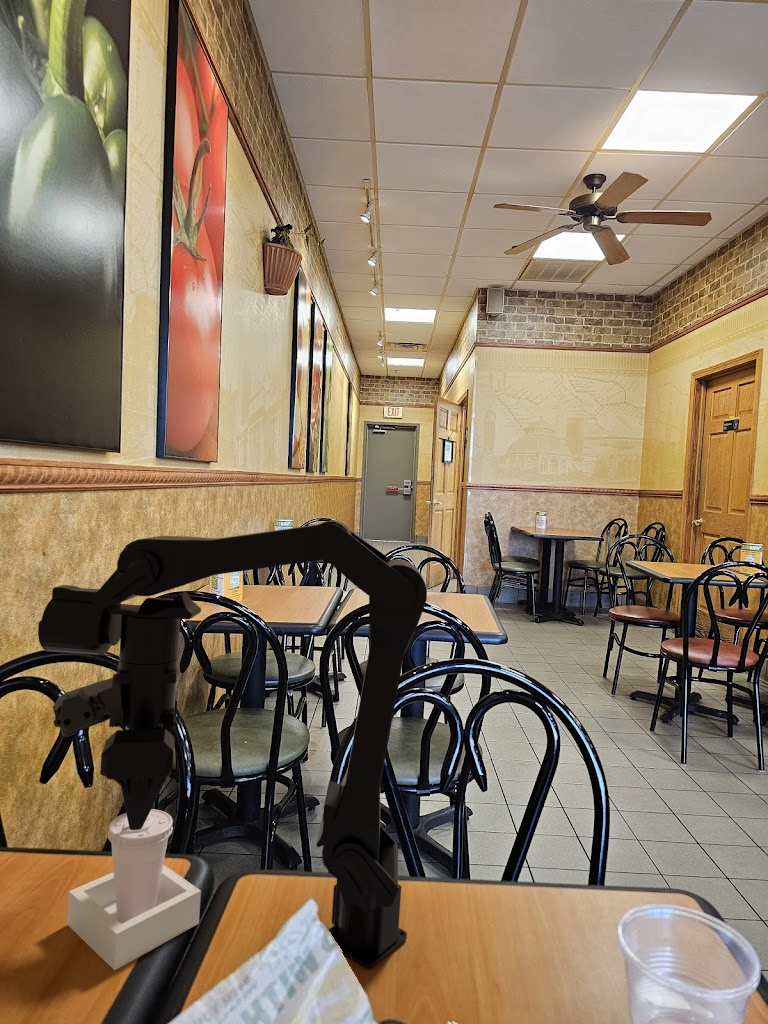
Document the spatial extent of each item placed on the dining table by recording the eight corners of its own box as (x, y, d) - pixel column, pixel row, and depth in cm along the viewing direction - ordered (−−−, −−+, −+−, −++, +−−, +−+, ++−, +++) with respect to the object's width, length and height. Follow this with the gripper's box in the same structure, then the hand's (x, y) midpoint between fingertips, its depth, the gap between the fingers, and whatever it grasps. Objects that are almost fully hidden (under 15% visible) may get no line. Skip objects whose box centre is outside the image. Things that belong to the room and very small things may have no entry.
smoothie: (89, 919, 67) (96, 784, 66) (138, 888, 72) (146, 764, 72) (132, 942, 64) (140, 802, 63) (181, 908, 69) (188, 779, 69)
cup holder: (198, 923, 68) (200, 890, 68) (114, 970, 61) (116, 933, 61) (149, 885, 74) (151, 855, 74) (67, 924, 67) (68, 891, 67)
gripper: (79, 637, 74) (70, 772, 74) (42, 685, 56) (32, 864, 56) (181, 637, 77) (173, 767, 77) (178, 683, 59) (167, 852, 59)
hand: (139, 806), depth 67 cm, fingers open, 9 cm apart
